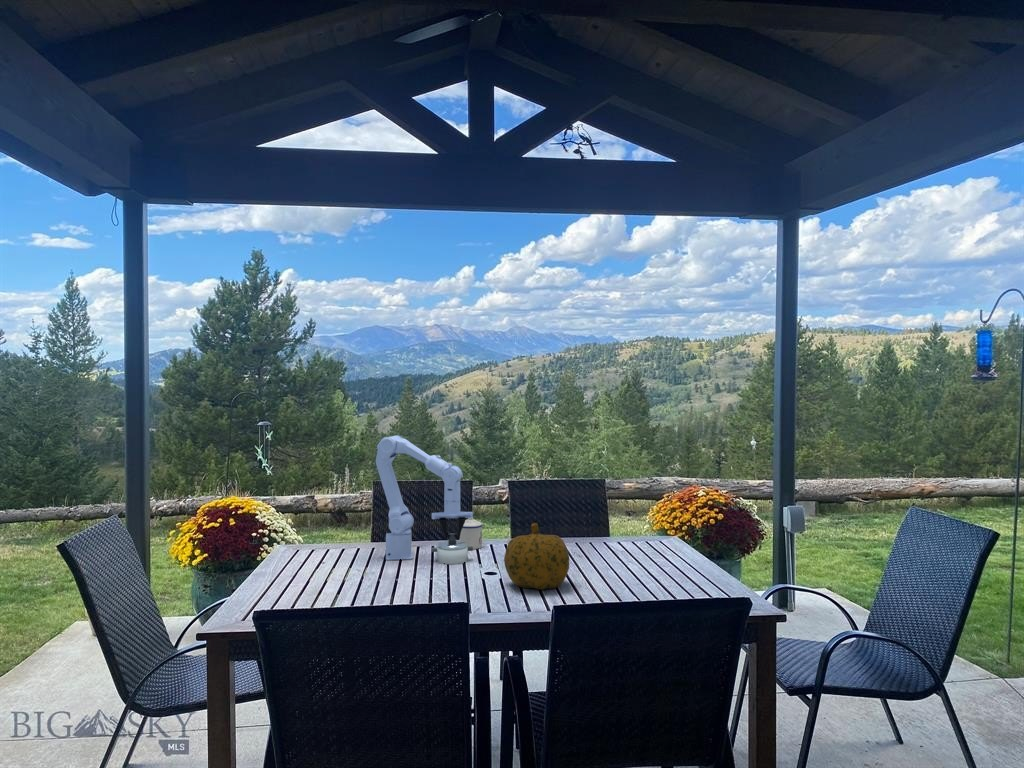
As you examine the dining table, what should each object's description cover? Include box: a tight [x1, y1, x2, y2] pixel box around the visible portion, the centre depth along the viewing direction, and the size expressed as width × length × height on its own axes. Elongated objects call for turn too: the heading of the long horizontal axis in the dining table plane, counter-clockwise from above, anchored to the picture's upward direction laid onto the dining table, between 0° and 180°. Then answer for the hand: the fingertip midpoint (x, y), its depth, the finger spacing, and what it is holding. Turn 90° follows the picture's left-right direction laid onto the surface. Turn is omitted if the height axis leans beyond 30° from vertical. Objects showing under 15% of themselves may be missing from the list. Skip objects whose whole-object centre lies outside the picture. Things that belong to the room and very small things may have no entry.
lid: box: [437, 532, 466, 550], centre depth 260 cm, size 10×10×4 cm
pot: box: [431, 545, 474, 565], centre depth 260 cm, size 15×11×5 cm
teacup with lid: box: [458, 517, 483, 550], centre depth 282 cm, size 12×9×12 cm
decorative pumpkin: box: [503, 522, 570, 591], centre depth 229 cm, size 20×21×20 cm
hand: (452, 538), depth 260 cm, fingers open, 4 cm apart
